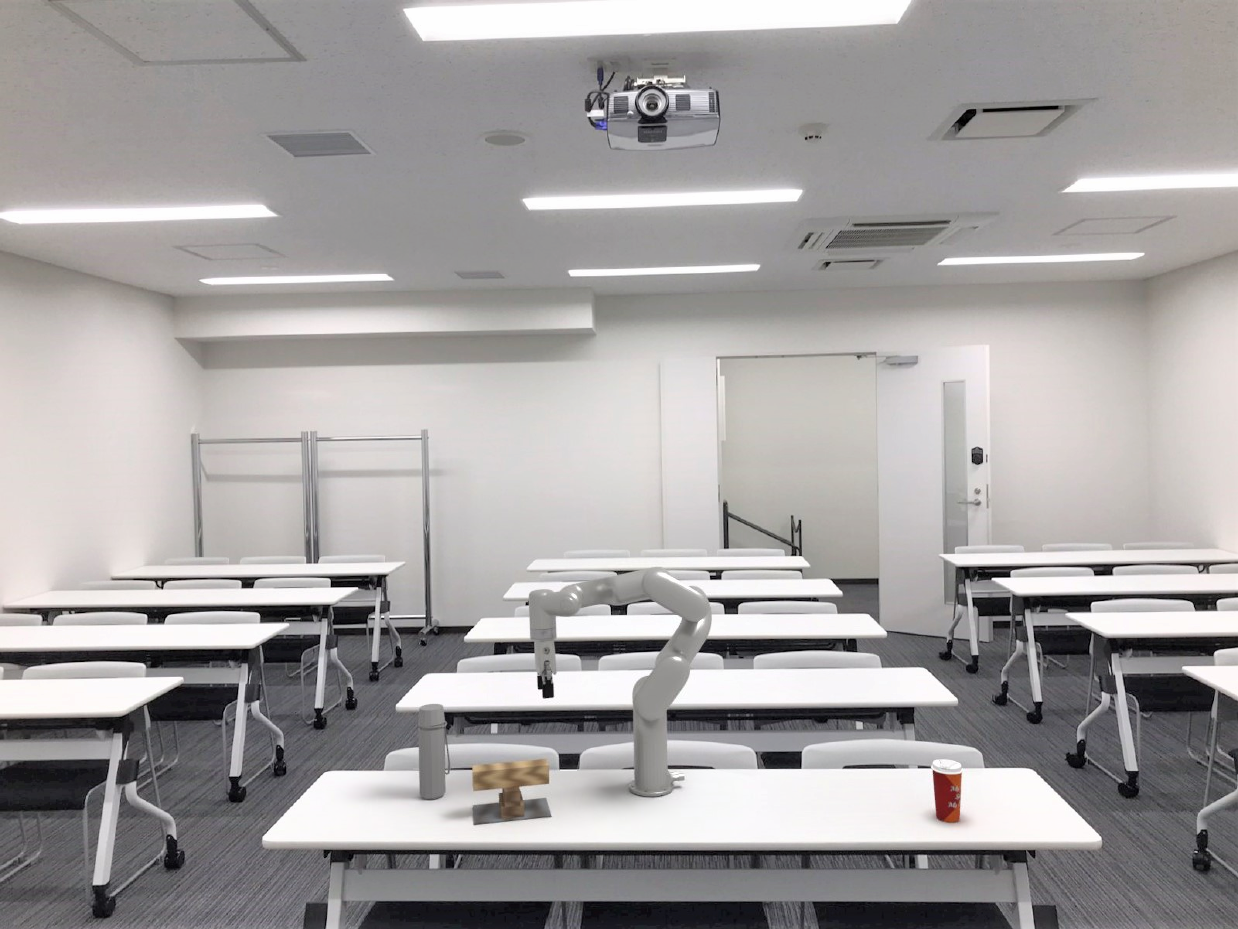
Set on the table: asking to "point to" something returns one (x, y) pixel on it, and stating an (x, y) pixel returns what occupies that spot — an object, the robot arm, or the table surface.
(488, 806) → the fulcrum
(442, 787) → the water bottle
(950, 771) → the paper cup
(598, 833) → the table surface
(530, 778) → the oak bar
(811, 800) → the table surface
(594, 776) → the table surface
